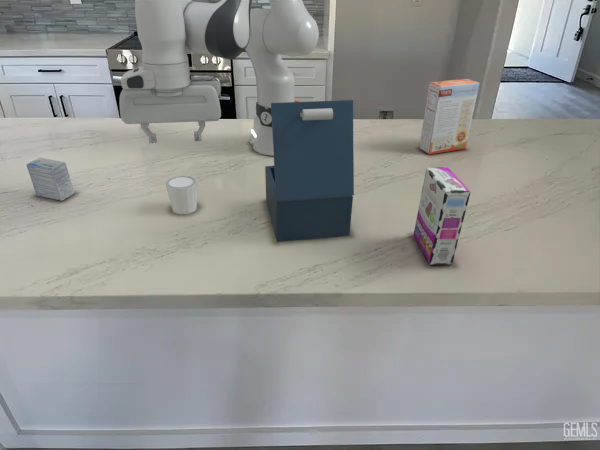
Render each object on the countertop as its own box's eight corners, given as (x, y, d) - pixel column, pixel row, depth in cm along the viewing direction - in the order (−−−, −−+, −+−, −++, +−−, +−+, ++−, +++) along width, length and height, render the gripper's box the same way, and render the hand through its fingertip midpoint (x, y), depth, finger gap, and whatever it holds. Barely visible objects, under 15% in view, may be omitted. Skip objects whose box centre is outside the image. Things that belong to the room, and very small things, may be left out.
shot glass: (192, 217, 101) (189, 190, 97) (164, 213, 102) (160, 186, 99) (203, 203, 107) (201, 177, 103) (177, 200, 108) (173, 174, 104)
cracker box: (454, 143, 144) (467, 77, 133) (466, 149, 140) (481, 82, 129) (417, 148, 140) (428, 80, 129) (428, 155, 135) (441, 85, 124)
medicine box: (75, 193, 110) (66, 161, 105) (61, 201, 106) (51, 168, 102) (50, 188, 112) (40, 156, 107) (36, 196, 108) (25, 163, 104)
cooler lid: (270, 103, 84) (274, 102, 79) (351, 100, 86) (360, 99, 81) (276, 200, 88) (279, 205, 83) (352, 194, 91) (360, 199, 86)
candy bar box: (453, 265, 87) (472, 191, 79) (429, 266, 87) (445, 192, 78) (434, 234, 97) (449, 165, 88) (412, 235, 96) (425, 166, 88)
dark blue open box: (266, 201, 108) (265, 166, 103) (329, 197, 111) (331, 162, 106) (276, 242, 93) (276, 202, 88) (349, 235, 96) (353, 196, 91)
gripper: (219, 71, 93) (223, 134, 100) (117, 73, 89) (129, 138, 96) (220, 78, 88) (225, 144, 95) (111, 80, 84) (125, 149, 91)
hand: (175, 141), depth 96 cm, fingers open, 8 cm apart
